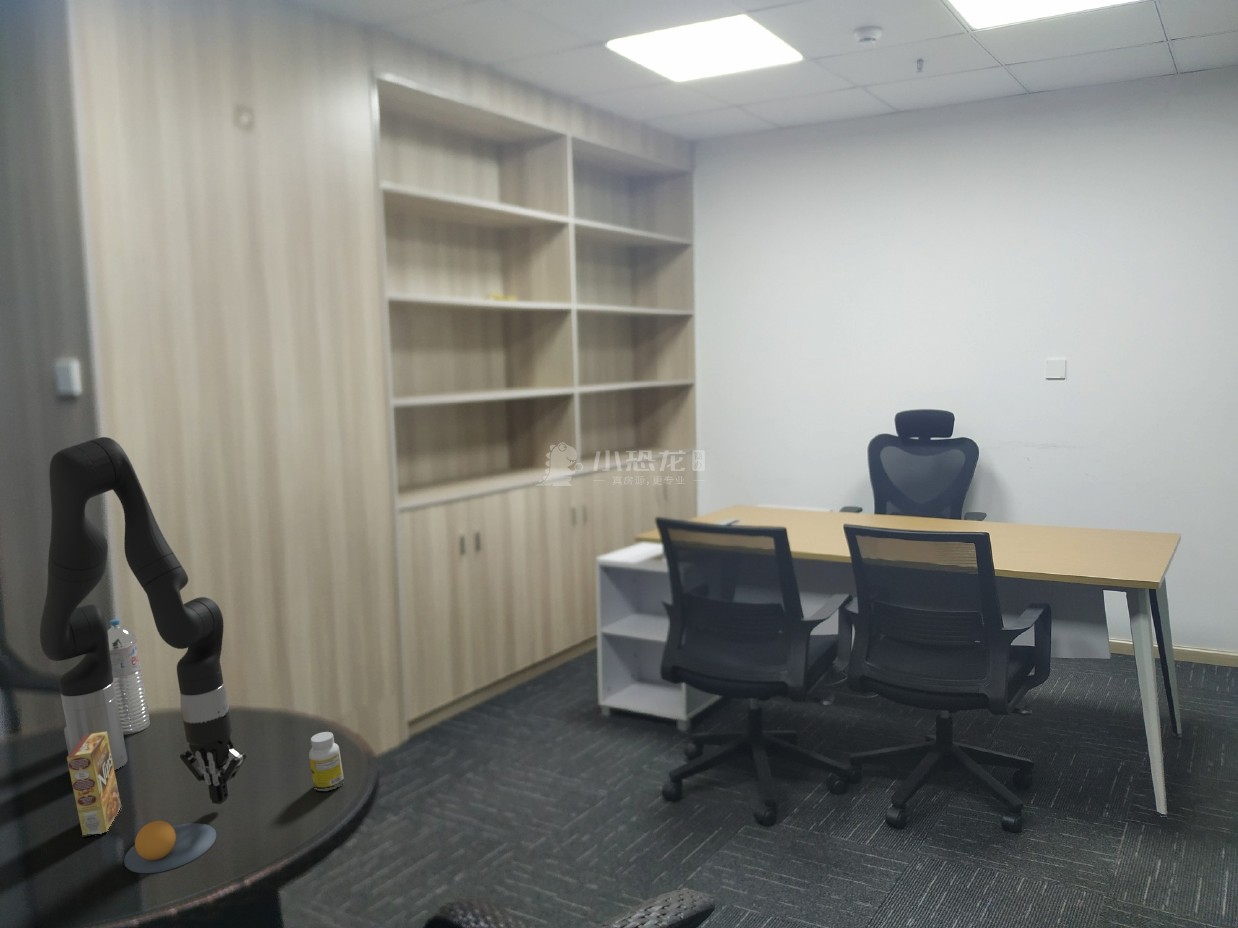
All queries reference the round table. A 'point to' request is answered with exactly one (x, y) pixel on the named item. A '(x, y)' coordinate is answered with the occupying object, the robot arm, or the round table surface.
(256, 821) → the round table surface
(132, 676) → the water bottle
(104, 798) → the candy box
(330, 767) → the supplement bottle
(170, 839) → the ball
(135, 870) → the blue-grey plate
